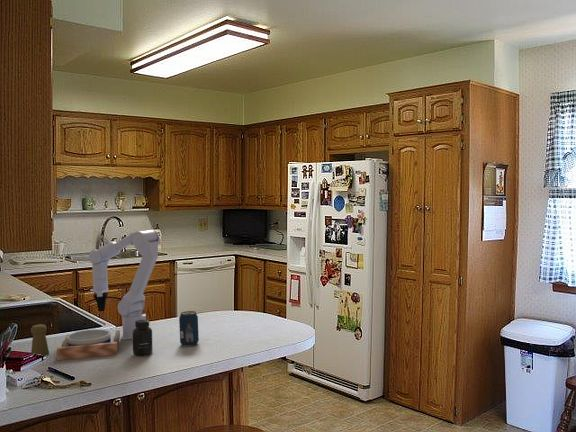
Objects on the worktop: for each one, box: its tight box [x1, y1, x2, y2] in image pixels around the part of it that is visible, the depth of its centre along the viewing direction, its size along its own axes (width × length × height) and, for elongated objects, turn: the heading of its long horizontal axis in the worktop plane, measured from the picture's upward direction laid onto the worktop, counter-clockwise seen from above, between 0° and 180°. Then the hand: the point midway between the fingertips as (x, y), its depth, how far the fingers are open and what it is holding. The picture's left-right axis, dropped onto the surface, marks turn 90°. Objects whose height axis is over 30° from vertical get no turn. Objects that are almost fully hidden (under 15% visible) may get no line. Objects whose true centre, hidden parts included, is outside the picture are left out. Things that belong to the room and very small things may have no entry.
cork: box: [30, 323, 50, 356], centre depth 199 cm, size 6×6×11 cm
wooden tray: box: [56, 329, 121, 361], centre depth 208 cm, size 20×28×4 cm
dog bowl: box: [66, 328, 112, 346], centre depth 204 cm, size 15×15×6 cm
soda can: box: [178, 310, 200, 347], centre depth 208 cm, size 7×7×12 cm
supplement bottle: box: [132, 319, 154, 357], centre depth 196 cm, size 7×7×12 cm
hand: (101, 311), depth 227 cm, fingers closed
